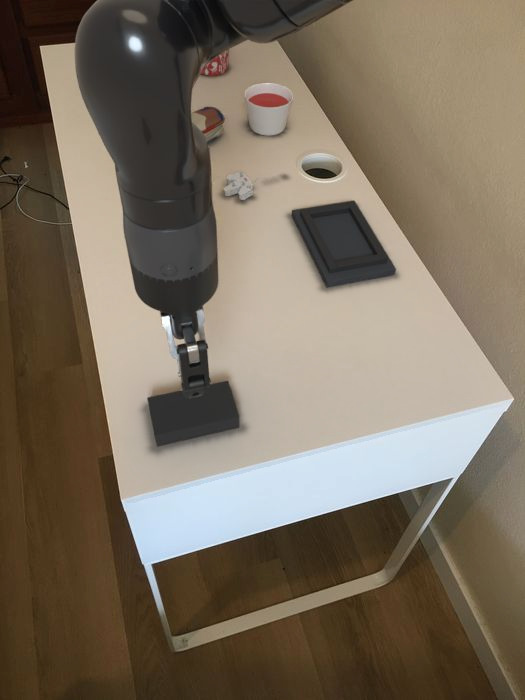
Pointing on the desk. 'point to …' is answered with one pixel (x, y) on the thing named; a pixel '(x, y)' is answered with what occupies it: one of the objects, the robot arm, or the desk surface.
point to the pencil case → (209, 122)
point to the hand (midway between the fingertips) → (185, 361)
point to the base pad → (342, 243)
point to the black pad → (193, 414)
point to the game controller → (239, 185)
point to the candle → (268, 107)
